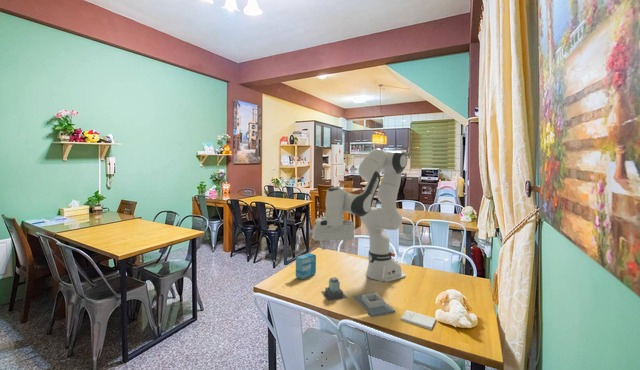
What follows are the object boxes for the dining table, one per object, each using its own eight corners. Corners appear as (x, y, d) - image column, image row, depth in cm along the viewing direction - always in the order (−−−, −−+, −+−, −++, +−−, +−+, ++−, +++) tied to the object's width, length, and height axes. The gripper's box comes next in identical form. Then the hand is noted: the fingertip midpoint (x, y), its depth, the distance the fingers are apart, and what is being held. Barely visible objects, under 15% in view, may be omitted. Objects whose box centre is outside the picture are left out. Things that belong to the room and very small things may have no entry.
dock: (374, 294, 144) (374, 287, 144) (395, 312, 127) (395, 305, 127) (352, 297, 140) (352, 291, 140) (370, 317, 124) (371, 309, 123)
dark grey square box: (339, 290, 148) (339, 284, 148) (347, 299, 139) (347, 292, 138) (320, 293, 145) (321, 286, 144) (328, 303, 135) (328, 295, 135)
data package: (301, 280, 160) (301, 259, 159) (295, 278, 163) (295, 257, 162) (315, 274, 169) (316, 253, 168) (310, 272, 172) (310, 252, 171)
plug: (336, 292, 144) (336, 276, 143) (339, 295, 140) (339, 279, 140) (328, 293, 143) (328, 277, 142) (331, 297, 139) (331, 280, 138)
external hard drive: (431, 331, 115) (400, 321, 122) (436, 321, 122) (406, 312, 129) (431, 327, 115) (400, 317, 122) (436, 318, 122) (406, 309, 129)
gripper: (352, 219, 145) (350, 246, 146) (312, 219, 140) (311, 247, 141) (356, 221, 139) (355, 250, 140) (315, 222, 134) (314, 251, 135)
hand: (332, 248), depth 141 cm, fingers open, 8 cm apart
